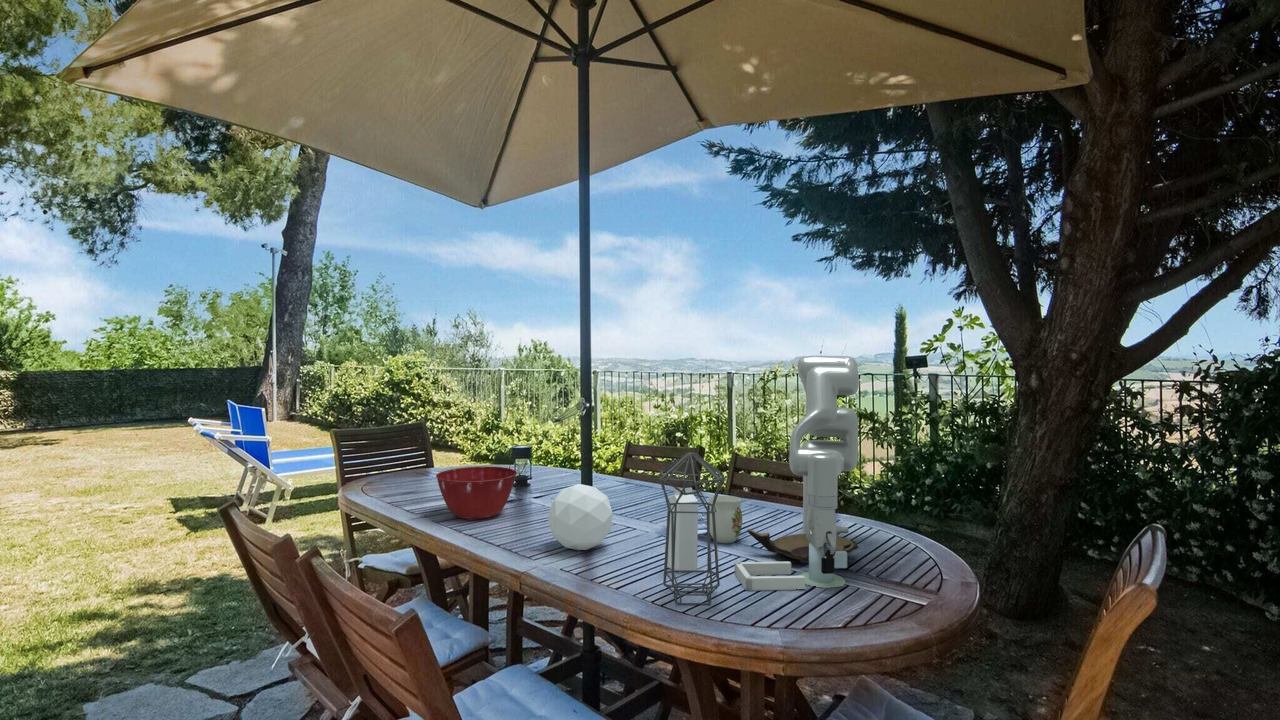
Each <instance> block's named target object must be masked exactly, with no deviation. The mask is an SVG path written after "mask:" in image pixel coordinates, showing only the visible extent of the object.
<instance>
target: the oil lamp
mask: <svg viewBox="0 0 1280 720" xmlns="http://www.w3.org/2000/svg"><path fill="white" fill-rule="evenodd" d="M746 531H747V533H748V534H749V535H750V536H751V537H753V538H754V539H755V541H757V542H758V543H759V544H760V545H762V546H763V547H764V548H765V549H766V550H767V551H768V552H771V553H773V554H774V553H779V554H781V555H784V556H785V557H787V558H791V559H793V560H797V561H800V562H806V563H809V542H810V541H808V540H807V538H806V534H798V533H797V534H790V535H785V536H781V537H778V538H776V539H775V540H771V538H770V532H763V533H761V532H758V531H754V530H752V529H750V528H748V529H747V530H746ZM859 548H860V546H859V545H858V543H857V542H856V541H853V540H852V539H848V538H845V537H842V536H839V535H838V536H836V550H835V551H846V552H847V555H848V554H850V553H852V552H854V551H855V550H857V549H859Z"/></svg>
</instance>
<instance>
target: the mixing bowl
mask: <svg viewBox="0 0 1280 720" xmlns="http://www.w3.org/2000/svg"><path fill="white" fill-rule="evenodd" d="M517 474H518V471H517V470H515V469H513V468H510V467H509V468H508V467H503V466H468V467H467V466H466V467H458V468H453V469H447V470H443V471H440V472H438V473H436V475H435V478H436V480H437V483H438V487H439V490H440V493H441V495H442V498H443V501H444V503H445V505H446V507H447V508H448V510H449V511H450V513H452V515H454V516H456V517H457V518H459V517H460V518H459V519H461V518H464V519H463V520H466V519H480V520H485V518H487V519H491V518H493V517H495V516H497V514H499V513H500V512H501V511H502V510H503V509H504V507H505V506H506V505H507V502H508V501H509V498H510V495H511V494H512V490H513V487H514V484H515V480H516V476H517Z"/></svg>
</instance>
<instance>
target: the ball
mask: <svg viewBox="0 0 1280 720" xmlns="http://www.w3.org/2000/svg"><path fill="white" fill-rule="evenodd" d="M613 516H614V515H613V510H612V507H611V503H610V500H609V497H608V495H606V494H605V493H603V492H602V491H601V490H599V489H598V488H596V487H595V486H591V485H586V484H582V483H581V484H580V483H577V484H574V485H571V486H568V487H565V488H563V489H561V490H560V491H559V493H558V494H557V496H556V497H555V498H554V500H553V501H552V502H551V504H550V508H549V513H548V516H547V520H548V524H549V528H550V531H551V534H552V537H553V538H554V539H555V540H556V541H557V542H558V543H560V544H561V545H562V546H563V547H565V548H567V549H572V550H574V551H575V550H576V551H580V550H585V551H587V550H590V549H592V548H595V547H597V546H600V545H601V544H602V542H603V541H604V540H605V539H606V538H607V536H608V535H609V533H610V532H611V531H612V523H613Z"/></svg>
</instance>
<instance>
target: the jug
mask: <svg viewBox="0 0 1280 720" xmlns="http://www.w3.org/2000/svg"><path fill="white" fill-rule="evenodd" d="M824 545H828V544H824ZM827 550H828V549H825V551H826V552H827ZM835 552H836V553H835V562H834V569H847V568H848V554H847V552H846V551H835ZM822 557H823V554H822V549H821V547H820V548H817V547H816V546H814V545H813V544H812V543H811V542H810V543H809V558H808V559H809V562H808V572H809V579H810V580H811V581H814V582H818V583H831V582H833V581H834V574H835V572H834V573H833V574H823V573H822V572H821V562H822Z"/></svg>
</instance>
